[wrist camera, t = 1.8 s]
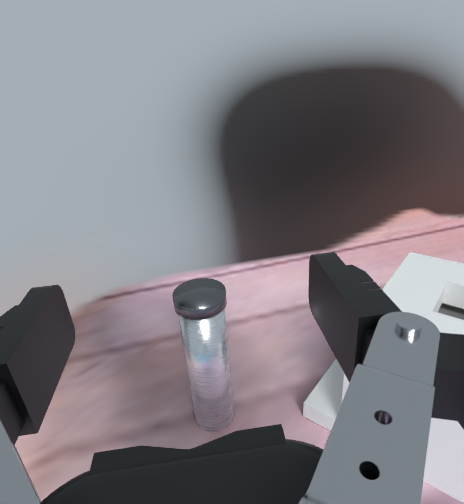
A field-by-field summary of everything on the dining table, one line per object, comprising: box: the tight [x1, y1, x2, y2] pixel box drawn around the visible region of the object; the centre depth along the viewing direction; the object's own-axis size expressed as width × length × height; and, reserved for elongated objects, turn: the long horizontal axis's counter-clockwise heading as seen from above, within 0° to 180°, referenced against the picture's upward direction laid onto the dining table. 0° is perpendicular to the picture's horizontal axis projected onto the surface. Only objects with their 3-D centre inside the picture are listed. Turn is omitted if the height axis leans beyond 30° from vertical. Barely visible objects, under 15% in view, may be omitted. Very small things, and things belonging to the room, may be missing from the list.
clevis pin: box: [173, 278, 234, 432], centre depth 28 cm, size 4×4×12 cm
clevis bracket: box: [303, 252, 464, 503], centre depth 28 cm, size 18×17×10 cm
